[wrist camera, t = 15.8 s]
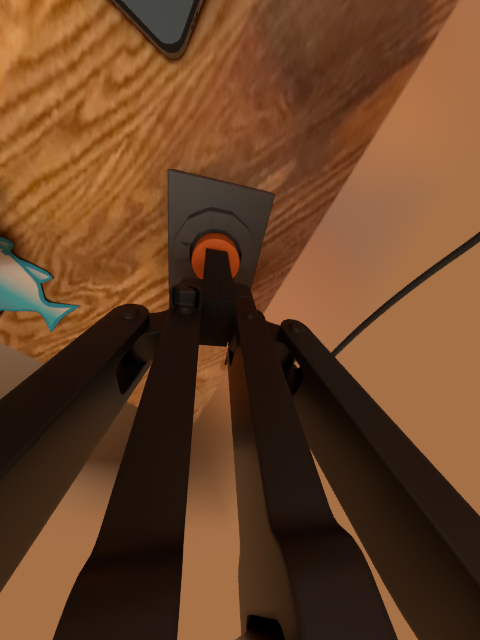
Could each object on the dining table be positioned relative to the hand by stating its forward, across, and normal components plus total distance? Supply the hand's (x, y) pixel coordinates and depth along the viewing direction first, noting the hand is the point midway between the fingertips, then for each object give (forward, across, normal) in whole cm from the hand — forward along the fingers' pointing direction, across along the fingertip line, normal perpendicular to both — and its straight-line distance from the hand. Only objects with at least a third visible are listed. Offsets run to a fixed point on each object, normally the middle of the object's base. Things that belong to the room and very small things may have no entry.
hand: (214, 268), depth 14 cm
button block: (+6, 0, 0) cm, 6 cm away
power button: (+3, 0, 0) cm, 3 cm away
